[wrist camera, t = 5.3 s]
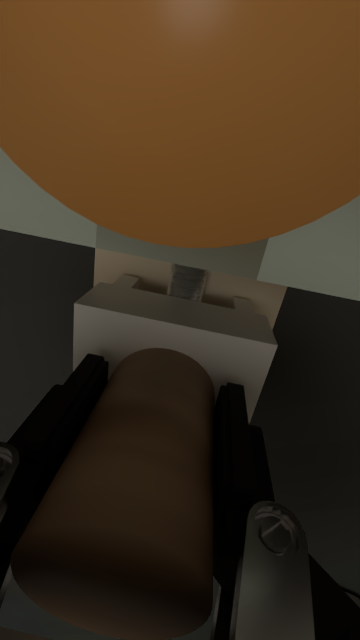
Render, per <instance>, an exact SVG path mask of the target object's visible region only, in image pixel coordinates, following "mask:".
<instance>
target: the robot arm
mask: <svg viewBox="0 0 360 640" xmlns="http://www.w3.org/2000/svg"><path fill="white" fill-rule="evenodd" d="M108 368H109V362H108V361H104V357H103V356H99V355H95V354H90V353H88V354H87V355H86V356H85V358H84V359H83V360H82V361H81V363H80V364H79V365H78V367H77V368H76V369H75V370H74V372H73V373H72V374H71V376H70V377H69V378H68V379H67V381H66V382H65V383H64V385H58V384H57V385H54V386H53V387H52V388H51V390H50V391H49V392H48V393H47V394H46V396H45V397H44V398H43V399H42V400H41V402H40V403H39V404H38V405H37V407H36V408H35V409H34V410H33V411H32V413H31V414H30V415H29V416H28V417H27V419H26V420H25V421H24V422H23V424H22V425H21V426H20V427H19V428H18V430H17V431H16V432H15V433H14V434H13V436H12V437H11V438H10V439H9V441H8V442H7V443H5V442H0V608H1V605H2V602H3V599H4V597H5V594H6V591H7V588H8V585H9V583H10V580H11V577H12V570H11V561H10V560H11V555H12V552H13V550H14V548H15V546H16V545H17V543H18V541H19V539H20V538H21V536H22V534H23V532H24V530H25V529H26V527H27V525H28V523H29V522H30V520H31V518H32V516H33V514H34V513H35V511H36V509H37V507H38V506H39V504H40V502H41V500H42V498H43V497H44V495H45V493H46V491H47V490H48V488H49V486H50V484H51V482H52V481H53V479H54V477H55V475H56V473H57V472H58V470H59V468H60V466H61V465H62V463H63V461H64V459H65V457H66V456H67V454H68V452H69V450H70V449H71V447H72V445H73V443H74V441H75V440H76V438H77V436H78V434H79V433H80V431H81V429H82V427H83V425H84V424H85V422H86V420H87V418H88V417H89V415H90V413H91V411H92V409H93V408H94V406H95V404H96V402H97V401H98V399H99V397H100V395H101V393H102V392H103V390H104V388H105V386H106V385H107V382H108ZM213 576H214V577H215V579H216V580H217V581H218V583H219V587H218V593H217V600H216V606H215V612H214V618H213V625H212V631H211V637H210V640H360V599H359V598H358V597H356V596H354V595H352V594H350V593H347V592H345V591H344V590H343V589H342V588H341V587H340V586H339V585H338V584H337V583H336V582H335V581H334V580H333V579H332V578H331V577H330V575H329V574H328V573H327V572H326V571H325V570H324V569H323V568H322V567H321V566H320V565H319V564H318V563H317V562H316V561H315V560H314V559H313V557H312V556H311V555H310V554H309V553H308V542H307V538H306V533H305V531H304V529H303V527H302V525H301V523H300V521H299V520H298V519H297V518H296V516H295V515H294V514H293V513H292V512H291V511H290V510H288V509H287V508H286V507H284V506H282V505H281V504H279V503H277V502H275V499H274V494H273V489H272V483H271V478H270V472H269V467H268V461H267V456H266V450H265V445H264V439H263V434H262V430H261V428H260V427H257V426H252V425H249V422H248V415H247V407H246V399H245V392H244V386H243V385H240V384H235V383H230V382H228V383H227V385H226V386H225V385H221V387H220V390H219V394H218V397H217V401H216V405H215V434H214V523H213ZM0 640H52V639H48V638H44V637H40V636H36V635H32V634H28V633H24V632H20V631H15V630H11V629H7V628H3V627H0Z"/></svg>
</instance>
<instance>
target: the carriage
mask: <svg viewBox="0 0 360 640" xmlns="http://www.w3.org/2000/svg"><path fill="white" fill-rule="evenodd" d="M138 287H139V278H138V277H133V276H128V275H122V276H121V277H119V278H118V279H117V280H116V281H115V282H114V283H113V284H109V283H104V282H100V283H98V284H97V285H96V286H95V287H94V288H92V289H91V290H90V291H89V292H87V293H86V294H85V295H84V296H82V297H81V298H80V299H79V300H77V301H76V302H75V303H74V337H73V372H74V370H75V369H76V368H77V367H78V365H79V364H80V363H81V361H82V360H83V359H84V358H85V356H86V355H87V354H88V353H90V354H95V355H99V356H103V357H104V361H108V362H109V368H108V382H107V385H106V386H105V388H104V390H103V392H102V393H101V395H100V397H99V399H98V401H97V402H96V404H95V406H94V408H93V409H92V411H91V413H90V415H89V417H88V418H87V420H86V422H85V424H84V425H83V427H82V429H81V431H80V433H79V434H78V436H77V438H76V440H75V441H74V443H73V445H72V447H71V449H70V450H69V452H68V454H67V456H66V457H65V459H64V461H63V463H62V465H61V466H60V468H59V470H58V472H57V473H56V475H55V477H54V479H53V481H52V482H51V484H50V486H49V488H48V490H47V491H46V493H45V495H44V497H43V498H42V500H41V502H40V504H39V506H38V507H37V509H36V511H35V513H34V514H33V516H32V518H31V520H30V522H29V523H28V525H27V527H26V529H25V530H24V532H23V534H22V536H21V538H20V539H19V541H18V543H17V545H16V546H15V548H14V550H13V552H12V555H11V560H10V561H11V570H12V574H13V576H14V578H15V581H16V582H17V584H18V585H19V587H20V588H21V589H22V591H23V592H24V593H25V594H26V595H27V596H28V597H29V598H30V599H31V600H32V601H33V602H35V603H36V604H37V605H38V606H40V607H41V608H43V609H44V610H46V611H47V612H49V613H50V614H52V615H54V616H55V617H57V618H59V619H61V620H63V621H65V622H67V623H69V624H72V625H74V626H77V627H79V628H82V629H85V630H87V631H90V632H94V633H97V634H101V635H105V636H110V637H114V638H121V639H128V640H164V639H171V638H176V637H180V636H183V635H186V634H188V633H190V632H192V631H194V630H196V629H197V628H199V627H200V626H202V625H203V624H204V623H205V622H206V621H207V619H208V617H209V616H210V614H211V611H212V604H213V523H214V434H215V405H216V401H217V397H218V394H219V390H220V387H221V385H225V386H226V385H227V383H228V382H230V383H235V384H240V385H243V386H244V392H245V399H246V407H247V415H248V422H249V423H250V420H251V418H252V415H253V412H254V409H255V407H256V404H257V401H258V398H259V396H260V393H261V390H262V387H263V385H264V382H265V379H266V376H267V374H268V371H269V368H270V365H271V363H272V360H273V357H274V354H275V352H276V349H277V346H278V345H277V342H276V339H275V337H274V334H273V332H272V329H271V326H270V324H269V321H268V319H267V316H265V315H261V314H256V313H254V310H253V307H252V304H251V300H246V299H241V298H236V297H233V300H232V304H231V308H226V307H221V306H217V305H212V304H207V303H202V302H197V301H192V300H187V299H182V298H177V297H173V296H168V295H163V294H158V293H153V292H148V291H143V290H138Z"/></svg>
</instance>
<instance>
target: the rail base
mask: <svg viewBox="0 0 360 640" xmlns="http://www.w3.org/2000/svg"><path fill="white" fill-rule="evenodd" d="M0 229H4V230H9V231H14V232H19V233H24V234H29V235H34V236H39V237H44V238H49V239H54V240H59V241H64V242H69V243H74V244H79V245H84V246H89V247H94V248H95V268H94V287H95V286H96V285H97V284H98V283H100V282H104V283H109V284H113V283H114V282H115V281H116V280H117V279H118V278H119V277H121V276H122V275H128V276H133V277H138V278H139V287H138V290H143V291H148V292H153V293H158V294H163V295H168V296H173V297H177V298H182V299H187V300H192V301H197V302H202V303H207V304H212V305H217V306H221V307H226V308H231V304H232V300H233V297H236V298H241V299H246V300H251V304H252V307H253V310H254V313H256V314H261V315H265V316H267V319H268V321H269V324H270V326H271V329H272V330H273V327H274V324H275V321H276V318H277V315H278V312H279V309H280V307H281V304H282V301H283V298H284V295H285V292H286V289H287V286H288V287H293V288H298V289H303V290H308V291H313V292H318V293H323V294H328V295H333V296H338V297H343V298H348V299H353V300H358V301H360V195H359V196H357V197H356V198H354V199H353V200H352V201H350V202H349V203H347V204H345V205H343V206H341V207H340V208H338V209H336V210H334V211H332V212H330V213H329V214H327V215H325V216H323V217H321V218H319V219H318V220H316V221H314V222H311V223H309V224H306V225H304V226H301V227H299V228H296V229H294V230H291V231H289V232H286V233H284V234H281V235H278V236H274V237H271V238H267V239H263V240H259V241H256V242H252V243H248V244H241V245H234V246H226V247H219V248H182V247H174V246H167V245H159V244H153V243H149V242H146V241H142V240H138V239H135V238H131V237H127V236H124V235H122V234H119V233H117V232H114V231H112V230H110V229H107V228H105V227H102V226H100V225H97V224H95V223H94V222H92V221H90V220H88V219H87V218H85V217H83V216H81V215H80V214H78V213H76V212H74V211H73V210H71V209H69V208H68V207H66V206H65V205H63V204H62V203H61V202H59V201H58V200H57V199H55V198H54V197H53V196H51V195H50V194H49V193H47V192H46V191H44V190H43V189H42V188H41V187H39V186H38V185H37V184H36V183H35V182H34V181H33V180H32V179H31V178H30V177H29V176H28V175H26V174H25V173H24V172H23V171H22V170H21V169H20V168H19V167H18V166H17V165H16V164H15V163H14V162H13V161H12V160H11V159H10V158H9V157H8V155H7V154H6V153H5V152H4V151H3V150H2V149H1V147H0Z"/></svg>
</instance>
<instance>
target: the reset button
mask: <svg viewBox="0 0 360 640" xmlns="http://www.w3.org/2000/svg"><path fill="white" fill-rule="evenodd" d="M0 147H1V149H2V150H3V151H4V152H5V153H6V154H7V155H8V157H9V158H10V159H11V160H12V161H13V162H14V163H15V164H16V165H17V166H18V167H19V168H20V169H21V170H22V171H23V172H24V173H25V174H26V175H28V176H29V177H30V178H31V179H32V180H33V181H34V182H35V183H36V184H37V185H38V186H39V187H41V188H42V189H43V190H44V191H46V192H47V193H49V194H50V195H51V196H53V197H54V198H55V199H57V200H58V201H59V202H61V203H62V204H63V205H65V206H66V207H68V208H69V209H71V210H73V211H74V212H76V213H78V214H80V215H81V216H83V217H85V218H87V219H88V220H90V221H92V222H94V223H95V224H97V225H100V226H102V227H105V228H107V229H110V230H112V231H114V232H117V233H119V234H122V235H124V236H127V237H131V238H135V239H138V240H142V241H146V242H149V243H153V244H159V245H167V246H174V247H182V248H219V247H226V246H234V245H241V244H248V243H252V242H256V241H259V240H263V239H267V238H271V237H274V236H278V235H281V234H284V233H286V232H289V231H291V230H294V229H296V228H299V227H301V226H304V225H306V224H309V223H311V222H314V221H316V220H318V219H319V218H321V217H323V216H325V215H327V214H329V213H330V212H332V211H334V210H336V209H338V208H340V207H341V206H343V205H345V204H347V203H349V202H350V201H352V200H353V199H354V198H356V197H357V196H359V195H360V0H0Z"/></svg>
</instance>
